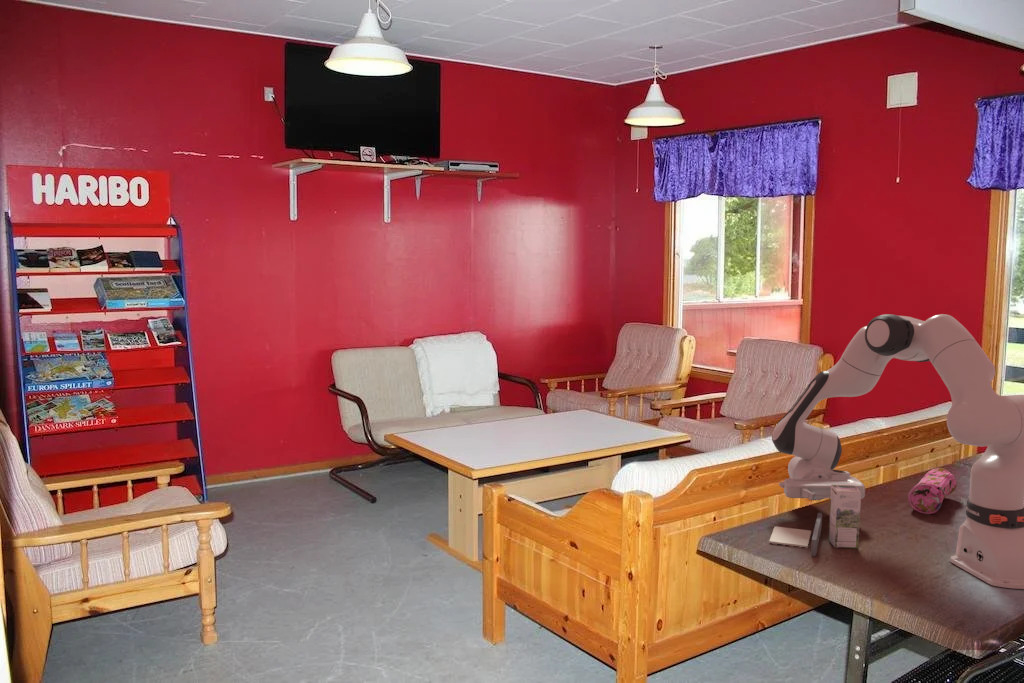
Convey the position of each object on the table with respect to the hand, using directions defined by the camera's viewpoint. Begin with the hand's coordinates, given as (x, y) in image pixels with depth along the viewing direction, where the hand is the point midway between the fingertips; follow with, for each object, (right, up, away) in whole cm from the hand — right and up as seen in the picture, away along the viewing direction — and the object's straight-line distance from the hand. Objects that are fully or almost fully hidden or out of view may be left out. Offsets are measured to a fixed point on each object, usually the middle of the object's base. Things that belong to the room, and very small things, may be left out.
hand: (832, 497), depth 221 cm
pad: (-12, -9, -4) cm, 16 cm away
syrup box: (-1, -10, -9) cm, 14 cm away
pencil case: (+37, -7, +23) cm, 44 cm away
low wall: (-6, -10, -6) cm, 13 cm away
